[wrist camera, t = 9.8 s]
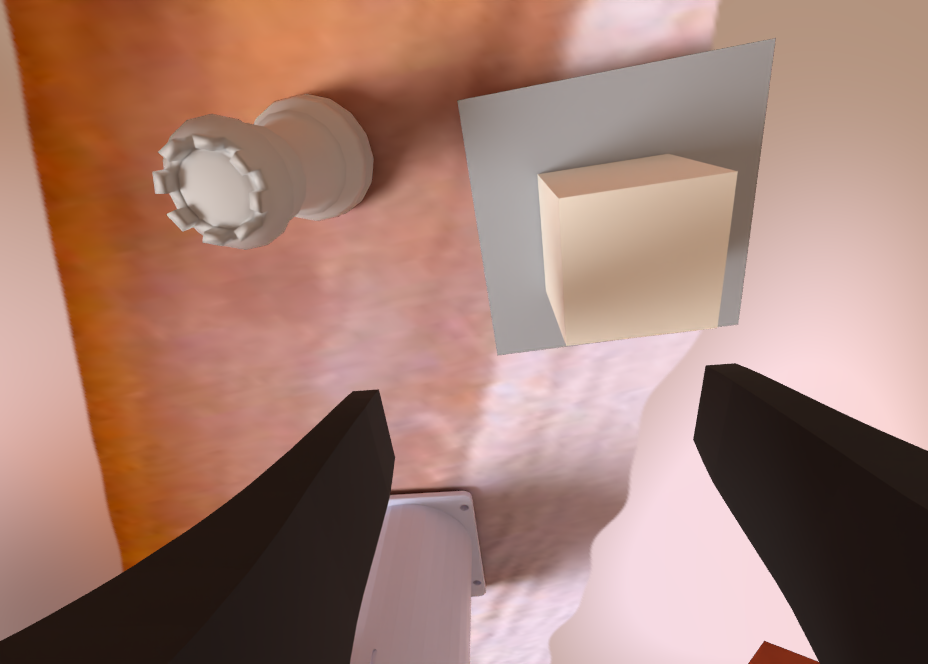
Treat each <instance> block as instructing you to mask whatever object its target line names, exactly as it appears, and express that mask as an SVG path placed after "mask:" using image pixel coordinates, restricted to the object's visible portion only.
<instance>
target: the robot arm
mask: <svg viewBox="0 0 928 664" xmlns="http://www.w3.org/2000/svg"><path fill="white" fill-rule="evenodd" d="M693 440H694V442H695V444H696V447H697V449H698V451H699V454H700V456H701V458H702V461H703V463H704V465H705V467H706V469H707V471H708V473H709V475H710V477H711V479H712V481H713V483H714V485H715V486H716V488H717V490H718V491H719V493H720V495H721V496H722V498H723V499H724V501H725V503H726V504H727V506H728V507H729V509H730V511H731V512H732V514H733V515H734V517H735V518H736V520H737V521H738V523H739V525H740V526H741V528H742V530H743V531H744V533H745V534H746V536H747V537H748V539H749V540H750V542H751V544H752V545H753V547H754V548H755V550H756V551H757V553H758V554H759V556H760V558H761V559H762V561H763V562H764V564H765V565H766V567H767V568H768V570H769V572H770V573H771V575H772V577H773V578H774V580H775V581H776V583H777V584H778V586H779V588H780V590H781V591H782V593H783V595H784V596H785V598H786V600H787V602H788V603H789V605H790V606H791V608H792V610H793V612H794V614H795V616H796V618H797V620H798V622H799V624H800V626H801V628H802V630H803V631H804V633H805V635H806V637H807V639H808V641H809V643H810V645H811V647H812V649H813V651H814V653H815V655H816V657H817V659H818V661H819V662H820V664H928V451H927V450H924V449H922V448H919V447H917V446H915V445H913V444H910V443H908V442H906V441H903V440H901V439H899V438H896V437H894V436H892V435H889V434H887V433H885V432H882V431H880V430H878V429H876V428H874V427H871V426H869V425H867V424H865V423H862V422H860V421H858V420H856V419H854V418H852V417H849V416H847V415H845V414H843V413H841V412H839V411H837V410H835V409H833V408H830V407H828V406H826V405H824V404H822V403H820V402H818V401H816V400H814V399H812V398H810V397H808V396H805V395H803V394H801V393H799V392H797V391H795V390H793V389H791V388H789V387H787V386H785V385H783V384H781V383H779V382H777V381H774V380H772V379H770V378H768V377H766V376H764V375H762V374H760V373H757V372H755V371H753V370H751V369H748V368H746V367H743V366H741V365H738V364H735V363H734V364H721V365H707V366H706V367H705V373H704V380H703V385H702V391H701V397H700V403H699V409H698V415H697V421H696V427H695V433H694V439H693ZM394 462H395V456H394V451H393V447H392V443H391V439H390V435H389V430H388V426H387V422H386V418H385V414H384V409H383V405H382V401H381V397H380V393H379V390H366V391H353V392H352V393H351V394H349V395H348V396H347V397H346V398H345V399H344V400H343V401H342V402H340V403H339V404H338V405H337V406H336V407H335V408H334V409H333V410H332V411H331V412H330V413H329V414H328V415H327V416H326V417H325V418H324V419H323V420H322V421H321V422H319V423H318V424H317V425H316V426H315V427H314V428H313V429H312V430H311V431H310V432H309V433H308V434H307V435H306V436H305V437H303V438H302V439H301V440H300V441H299V442H298V443H297V444H296V445H295V446H294V447H293V448H292V449H291V450H289V451H288V452H287V453H286V454H285V455H284V456H282V457H281V458H280V459H279V460H278V461H277V462H275V463H274V464H273V465H272V466H271V467H270V468H268V469H267V470H266V471H265V472H264V473H263V474H261V475H260V476H259V477H258V478H257V479H256V480H254V481H253V482H252V483H251V484H250V485H248V486H247V487H246V488H245V489H243V490H242V491H241V492H240V493H238V494H237V495H236V496H234V497H233V498H232V499H231V500H229V501H228V502H227V503H225V504H224V505H223V506H221V507H220V508H218V509H217V510H216V511H214V512H213V513H212V514H210V515H209V516H208V517H206V518H205V519H203V520H202V521H201V522H199V523H198V524H196V525H195V526H194V527H192V528H191V529H189V530H188V531H186V532H185V533H183V534H182V535H180V536H179V537H177V538H176V539H174V540H172V541H171V542H169V543H168V544H166V545H165V546H163V547H162V548H160V549H159V550H157V551H156V552H154V553H153V554H151V555H150V556H148V557H146V558H145V559H143V560H142V561H140V562H139V563H137V564H136V565H134V566H133V567H131V568H129V569H128V570H126V571H125V572H123V573H121V574H120V575H118V576H116V577H115V578H113V579H111V580H110V581H108V582H106V583H105V584H103V585H101V586H100V587H98V588H97V589H94V590H93V591H91V592H90V593H88V594H86V595H84V596H82V597H81V598H79V599H77V600H75V601H74V602H72V603H70V604H68V605H66V606H65V607H63V608H61V609H59V610H58V611H56V612H54V613H52V614H51V615H49V616H47V617H45V618H43V619H41V620H40V621H38V622H36V623H34V624H32V625H30V626H29V627H27V628H25V629H23V630H21V631H19V632H17V633H16V634H13V635H12V636H9V637H7V638H6V639H4V640H2V641H0V664H470V622H471V597H472V596H482V595H484V594H485V593H486V585H485V578H484V571H483V565H482V558H481V552H480V545H479V539H478V532H477V526H476V519H475V512H474V506H473V499H472V495H471V494H470V493H469V492H467V491H450V492H433V493H416V494H399V495H390V491H391V484H392V477H393V469H394Z"/></svg>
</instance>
